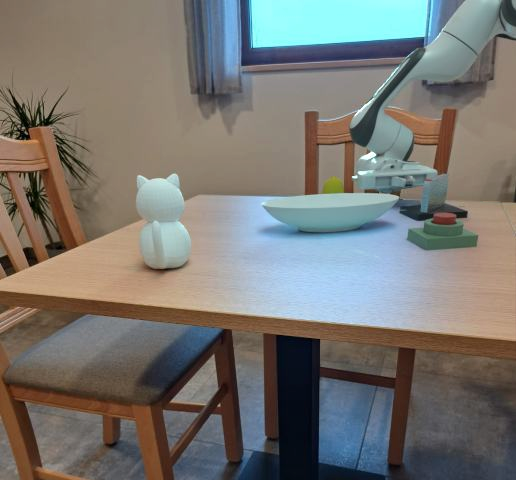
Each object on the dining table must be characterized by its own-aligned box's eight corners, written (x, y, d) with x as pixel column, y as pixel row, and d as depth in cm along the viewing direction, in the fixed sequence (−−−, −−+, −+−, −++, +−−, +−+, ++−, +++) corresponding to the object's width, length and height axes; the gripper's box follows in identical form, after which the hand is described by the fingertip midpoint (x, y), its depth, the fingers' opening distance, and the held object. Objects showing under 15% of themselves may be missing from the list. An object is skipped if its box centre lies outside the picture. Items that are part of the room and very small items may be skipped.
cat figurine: (193, 254, 87) (185, 170, 80) (191, 275, 76) (182, 180, 69) (145, 256, 87) (132, 172, 80) (136, 278, 76) (121, 183, 69)
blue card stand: (438, 203, 114) (442, 172, 111) (445, 204, 113) (449, 173, 110) (420, 212, 106) (424, 179, 102) (426, 213, 105) (431, 179, 101)
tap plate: (446, 206, 118) (447, 199, 117) (483, 220, 104) (484, 212, 103) (386, 210, 116) (386, 203, 115) (415, 224, 102) (416, 217, 101)
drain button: (448, 221, 89) (449, 212, 88) (459, 226, 85) (460, 216, 85) (428, 222, 88) (429, 213, 88) (438, 227, 85) (440, 217, 84)
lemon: (322, 206, 124) (323, 174, 120) (343, 206, 123) (345, 174, 119) (320, 210, 119) (322, 177, 115) (342, 210, 118) (344, 177, 114)
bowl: (267, 241, 93) (266, 211, 91) (257, 225, 107) (256, 197, 104) (409, 232, 96) (412, 202, 94) (382, 217, 110) (385, 190, 107)
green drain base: (454, 236, 93) (457, 215, 91) (476, 246, 86) (480, 225, 84) (406, 239, 92) (409, 219, 90) (425, 250, 85) (428, 228, 83)
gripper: (349, 164, 121) (369, 171, 109) (423, 161, 123) (450, 167, 111) (348, 189, 124) (366, 199, 112) (420, 185, 126) (446, 194, 114)
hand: (409, 183), depth 111 cm, fingers closed
